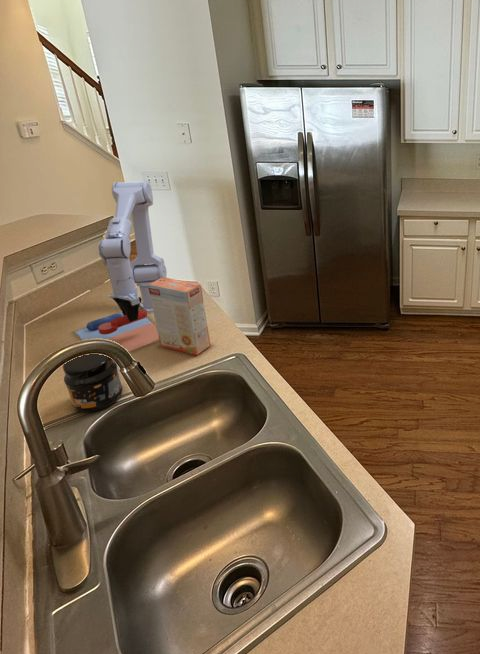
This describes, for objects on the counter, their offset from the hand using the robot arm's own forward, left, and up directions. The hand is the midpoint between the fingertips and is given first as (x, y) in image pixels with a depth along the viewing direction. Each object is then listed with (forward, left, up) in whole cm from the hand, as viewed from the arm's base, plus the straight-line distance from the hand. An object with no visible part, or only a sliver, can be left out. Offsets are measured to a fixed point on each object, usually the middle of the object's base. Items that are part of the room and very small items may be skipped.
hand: (131, 318), depth 130 cm
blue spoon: (+2, -15, -7) cm, 16 cm away
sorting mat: (+2, -6, -7) cm, 9 cm away
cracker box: (-8, +15, -7) cm, 19 cm away
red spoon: (+2, 0, -1) cm, 2 cm away
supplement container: (+17, +22, -7) cm, 29 cm away
